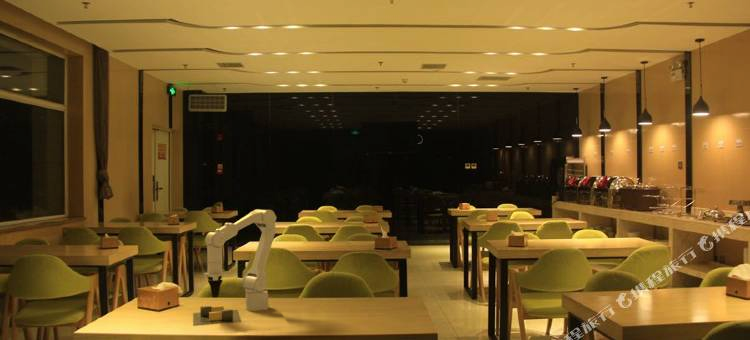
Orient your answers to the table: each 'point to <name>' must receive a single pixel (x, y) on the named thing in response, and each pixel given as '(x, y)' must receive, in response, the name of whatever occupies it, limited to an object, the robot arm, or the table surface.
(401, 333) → the table surface
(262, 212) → the robot arm
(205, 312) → the knob
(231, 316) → the knob
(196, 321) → the levelling plate
